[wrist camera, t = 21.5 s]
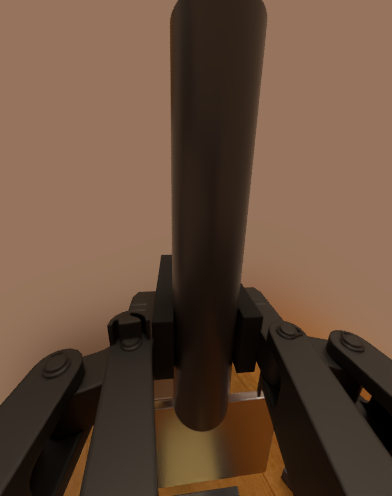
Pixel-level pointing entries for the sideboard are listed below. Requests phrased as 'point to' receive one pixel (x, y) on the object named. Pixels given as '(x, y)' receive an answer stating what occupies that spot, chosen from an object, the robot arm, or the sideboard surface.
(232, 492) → the slate board
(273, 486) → the sideboard surface
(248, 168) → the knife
